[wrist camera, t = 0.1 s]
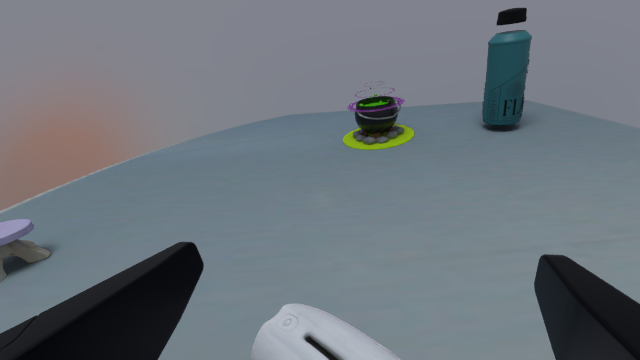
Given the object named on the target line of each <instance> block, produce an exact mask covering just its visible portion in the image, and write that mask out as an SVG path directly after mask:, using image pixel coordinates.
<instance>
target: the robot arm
mask: <svg viewBox="0 0 640 360" xmlns="http://www.w3.org/2000/svg"><path fill="white" fill-rule="evenodd" d="M203 266H204V265H203V261H202V258H201V256H200V254H199V252H198V249H197V247H196V245H195V244H194V243H192V242H179V243H177V244H175V245H173V246H171V247H169V248H167V249H165V250H163V251H161V252H159V253H157V254H155V255H153V256H151V257H150V258H148V259H146V260H144V261H142V262H140V263H138V264H136V265H134V266H132V267H130V268H128V269H126V270H124V271H122V272H120V273H118V274H116V275H114V276H112V277H110V278H109V279H107V280H105V281H103V282H101V283H99V284H97V285H95V286H93V287H91V288H89V289H87V290H85V291H83V292H81V293H79V294H77V295H75V296H73V297H71V298H70V299H68V300H66V301H64V302H62V303H60V304H58V305H56V306H54V307H52V308H50V309H48V310H46V311H44V312H42V313H40V314H39V315H38V316H34V317H32V318H30V319H28V320H26V321H25V322H23V323H21V324H19V325H17V326H15V327H13V328H11V329H9V330H7V331H5V332H3V333H1V334H0V360H158V358H159V356H160V354H161V353H162V351H163V349H164V347H165V346H166V344H167V342H168V340H169V339H170V337H171V335H172V333H173V331H174V330H175V328H176V326H177V324H178V322H179V321H180V319H181V317H182V315H183V313H184V311H185V308H186V306H187V304H188V302H189V300H190V297H191V295H192V293H193V291H194V289H195V286H196V284H197V282H198V280H199V278H200V276H201V273H202V271H203ZM534 287H535V293H536V297H537V300H538V303H539V307H540V310H541V313H542V316H543V320H544V323H545V326H546V330H547V333H548V336H549V340H550V343H551V346H552V349H553V353H554V356H555V359H556V360H640V304H639V303H638V302H636V301H634V300H633V299H631V298H630V297H628V296H627V295H625V294H624V293H622V292H621V291H619V290H618V289H616V288H614V287H613V286H611V285H610V284H608V283H607V282H605V281H604V280H602V279H601V278H599V277H598V276H596V275H594V274H593V273H591V272H590V271H588V270H587V269H585V268H584V267H582V266H581V265H579V264H577V263H576V262H574V261H573V260H571V259H570V258H568V257H566V256H564V255H542V256H541V257H540V259H539V263H538V268H537V272H536V277H535V282H534Z"/></svg>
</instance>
